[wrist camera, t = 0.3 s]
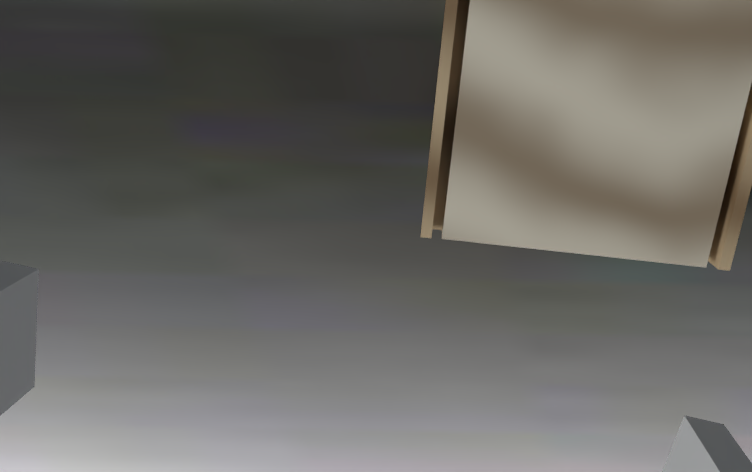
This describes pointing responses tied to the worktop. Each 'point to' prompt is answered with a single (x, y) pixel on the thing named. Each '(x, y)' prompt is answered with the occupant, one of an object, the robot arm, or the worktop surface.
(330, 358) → the worktop surface
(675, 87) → the cover plate
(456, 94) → the box
